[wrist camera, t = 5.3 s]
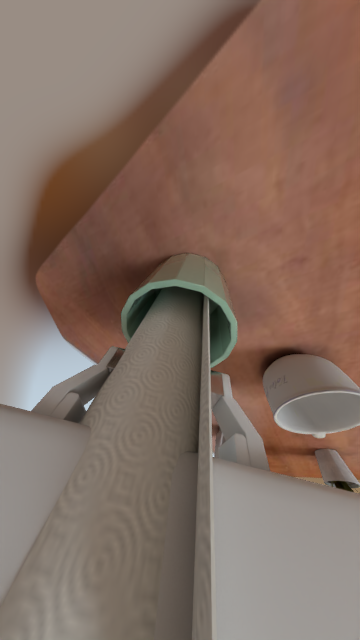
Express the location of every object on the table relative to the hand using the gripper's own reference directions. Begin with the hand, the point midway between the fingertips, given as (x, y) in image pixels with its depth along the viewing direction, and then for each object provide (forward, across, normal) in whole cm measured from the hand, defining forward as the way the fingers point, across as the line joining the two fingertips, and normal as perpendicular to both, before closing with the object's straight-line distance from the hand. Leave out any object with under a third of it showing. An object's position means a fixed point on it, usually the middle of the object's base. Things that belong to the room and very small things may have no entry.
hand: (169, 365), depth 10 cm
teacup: (+12, -21, +10) cm, 26 cm away
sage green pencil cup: (+12, 0, 0) cm, 12 cm away
